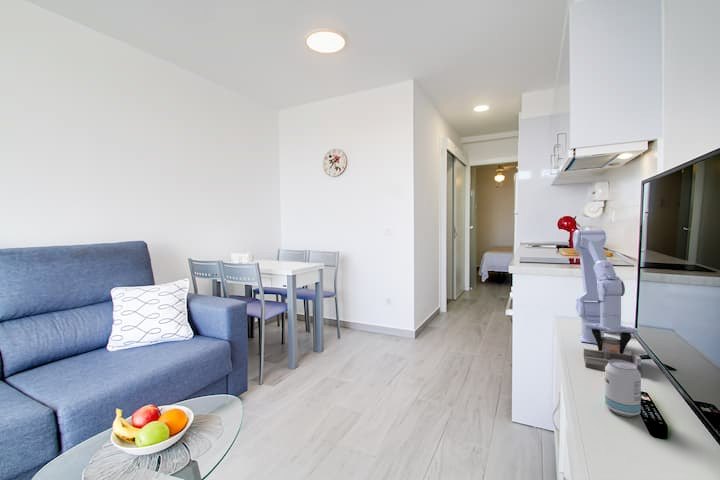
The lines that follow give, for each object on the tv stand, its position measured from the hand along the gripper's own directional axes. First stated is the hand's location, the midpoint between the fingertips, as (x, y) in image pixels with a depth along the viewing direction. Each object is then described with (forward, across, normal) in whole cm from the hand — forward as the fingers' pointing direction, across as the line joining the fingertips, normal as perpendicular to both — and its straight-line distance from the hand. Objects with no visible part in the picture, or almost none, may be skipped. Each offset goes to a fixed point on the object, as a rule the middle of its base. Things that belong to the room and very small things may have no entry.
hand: (610, 352), depth 113 cm
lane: (+1, -1, -9) cm, 9 cm away
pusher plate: (0, -2, -9) cm, 9 cm away
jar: (+1, 0, 0) cm, 1 cm away
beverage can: (+2, -2, -39) cm, 39 cm away
